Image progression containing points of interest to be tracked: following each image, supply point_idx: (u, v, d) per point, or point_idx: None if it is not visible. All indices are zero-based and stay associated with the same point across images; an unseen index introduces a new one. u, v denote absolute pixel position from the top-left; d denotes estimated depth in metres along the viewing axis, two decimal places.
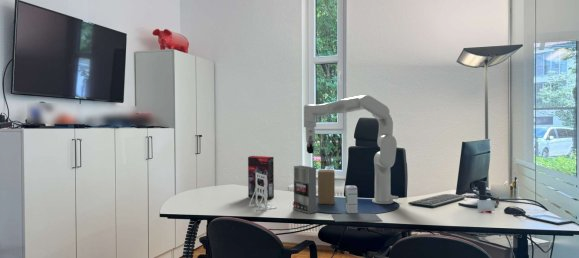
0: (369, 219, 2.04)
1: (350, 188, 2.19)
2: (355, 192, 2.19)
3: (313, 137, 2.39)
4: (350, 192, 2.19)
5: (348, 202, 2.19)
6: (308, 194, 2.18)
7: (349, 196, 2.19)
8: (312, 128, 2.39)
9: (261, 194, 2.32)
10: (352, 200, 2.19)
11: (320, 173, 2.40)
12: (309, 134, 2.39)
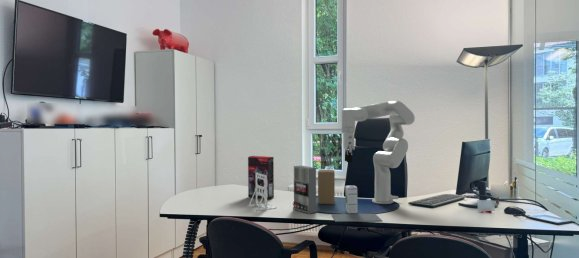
0: (369, 219, 2.04)
1: (350, 188, 2.19)
2: (355, 192, 2.19)
3: (353, 143, 2.25)
4: (350, 192, 2.19)
5: (348, 202, 2.19)
6: (308, 194, 2.18)
7: (349, 196, 2.19)
8: (351, 134, 2.25)
9: (261, 194, 2.32)
10: (352, 200, 2.19)
11: (320, 173, 2.40)
12: (348, 140, 2.25)
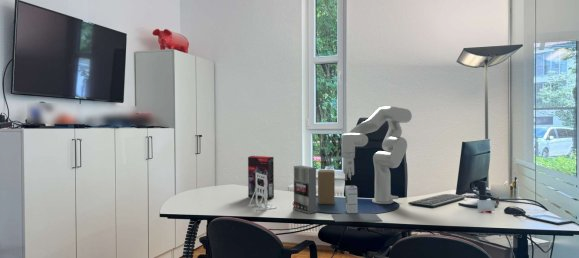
0: (369, 219, 2.04)
1: (350, 188, 2.19)
2: (355, 192, 2.19)
3: (352, 169, 2.25)
4: (350, 192, 2.19)
5: (348, 202, 2.19)
6: (308, 194, 2.18)
7: (349, 196, 2.19)
8: (351, 159, 2.25)
9: (261, 194, 2.32)
10: (352, 200, 2.19)
11: (320, 173, 2.40)
12: (348, 166, 2.25)
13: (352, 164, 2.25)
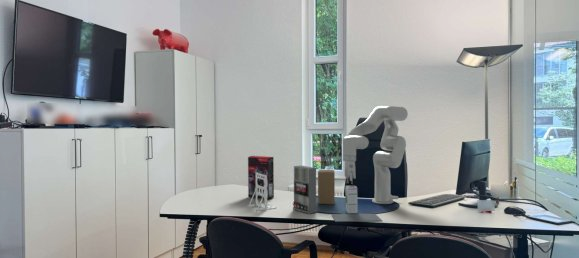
0: (369, 219, 2.04)
1: (350, 188, 2.19)
2: (355, 192, 2.19)
3: (354, 172, 2.22)
4: (350, 192, 2.19)
5: (348, 202, 2.19)
6: (308, 194, 2.18)
7: (349, 196, 2.19)
8: (352, 163, 2.22)
9: (261, 194, 2.32)
10: (352, 200, 2.19)
11: (320, 173, 2.40)
12: (349, 169, 2.22)
13: (353, 167, 2.22)
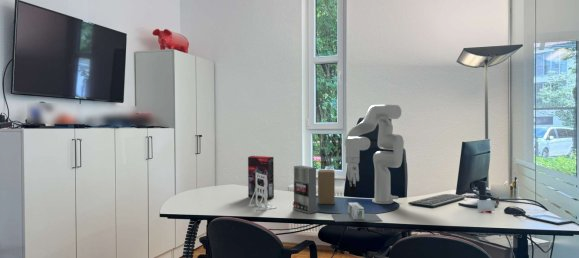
0: (369, 219, 2.04)
1: (356, 218, 2.05)
2: None
3: (357, 175, 2.13)
4: None
5: None
6: (308, 194, 2.18)
7: None
8: (356, 165, 2.13)
9: (261, 194, 2.32)
10: None
11: (320, 173, 2.40)
12: (352, 171, 2.12)
13: (357, 170, 2.13)
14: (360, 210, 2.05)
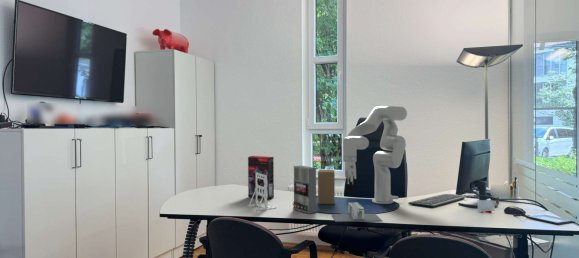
0: (369, 219, 2.04)
1: (356, 218, 2.05)
2: None
3: (354, 173, 2.21)
4: None
5: None
6: (308, 194, 2.18)
7: None
8: (353, 163, 2.21)
9: (261, 194, 2.32)
10: None
11: (320, 173, 2.40)
12: (350, 170, 2.21)
13: (354, 168, 2.21)
14: (360, 210, 2.05)
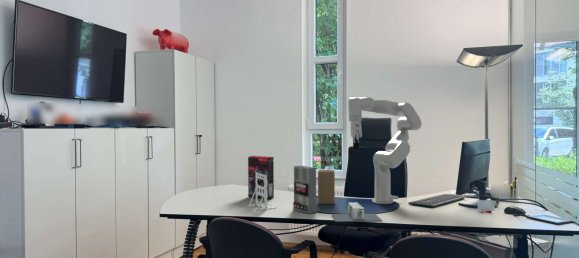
0: (369, 219, 2.04)
1: (356, 218, 2.05)
2: None
3: (360, 131, 2.31)
4: None
5: None
6: (308, 194, 2.18)
7: None
8: (359, 122, 2.31)
9: (261, 194, 2.32)
10: None
11: (320, 173, 2.40)
12: (356, 128, 2.30)
13: (360, 126, 2.31)
14: (360, 210, 2.05)
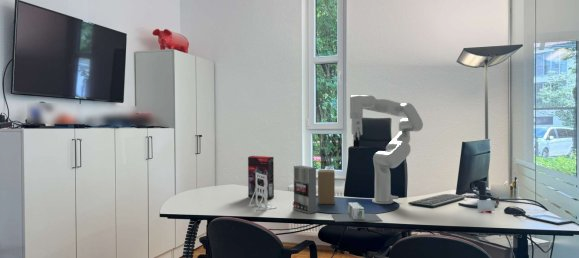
0: (369, 219, 2.04)
1: (356, 218, 2.05)
2: None
3: (360, 129, 2.32)
4: None
5: None
6: (308, 194, 2.18)
7: None
8: (359, 119, 2.32)
9: (261, 194, 2.32)
10: None
11: (320, 173, 2.40)
12: (356, 126, 2.31)
13: (360, 124, 2.32)
14: (360, 210, 2.05)
